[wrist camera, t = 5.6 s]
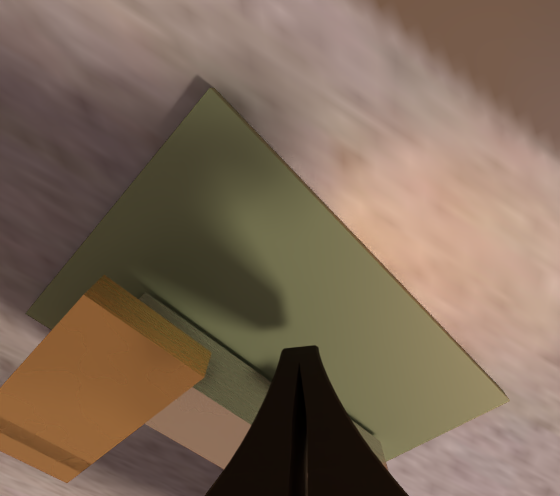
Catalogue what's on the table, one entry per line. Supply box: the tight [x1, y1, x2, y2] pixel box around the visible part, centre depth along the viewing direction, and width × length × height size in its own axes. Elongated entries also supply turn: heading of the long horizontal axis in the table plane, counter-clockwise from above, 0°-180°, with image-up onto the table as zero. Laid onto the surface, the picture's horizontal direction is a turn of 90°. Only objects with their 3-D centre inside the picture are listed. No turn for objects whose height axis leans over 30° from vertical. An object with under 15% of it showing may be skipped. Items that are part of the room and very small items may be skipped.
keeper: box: [0, 275, 212, 483], centre depth 12 cm, size 8×4×4 cm, turn 134°
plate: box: [25, 88, 510, 461], centre depth 15 cm, size 13×19×1 cm, turn 44°
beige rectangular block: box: [139, 292, 388, 478], centre depth 14 cm, size 14×5×3 cm, turn 46°
